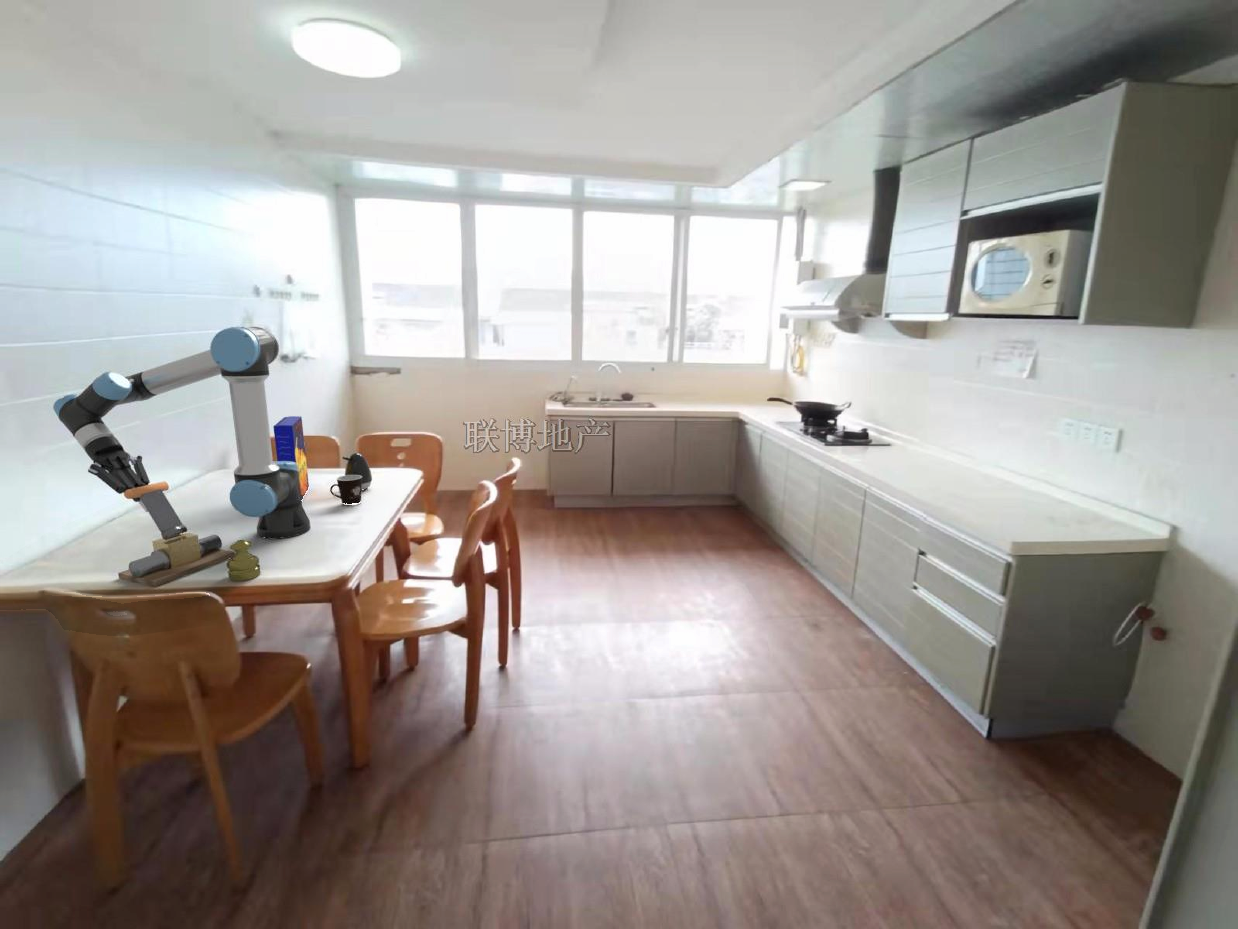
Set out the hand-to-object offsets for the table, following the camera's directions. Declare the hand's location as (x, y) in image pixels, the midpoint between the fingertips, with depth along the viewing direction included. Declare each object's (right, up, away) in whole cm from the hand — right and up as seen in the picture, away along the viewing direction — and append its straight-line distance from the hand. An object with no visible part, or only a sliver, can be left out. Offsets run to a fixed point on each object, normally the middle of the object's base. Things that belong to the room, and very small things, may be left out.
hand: (150, 508), depth 164 cm
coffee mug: (+27, -3, +60) cm, 66 cm away
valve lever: (+8, -8, -2) cm, 11 cm away
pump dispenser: (+23, +2, +79) cm, 83 cm away
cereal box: (+4, -1, +67) cm, 68 cm away
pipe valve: (+7, -16, +1) cm, 18 cm away
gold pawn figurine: (+28, -18, -4) cm, 34 cm away
